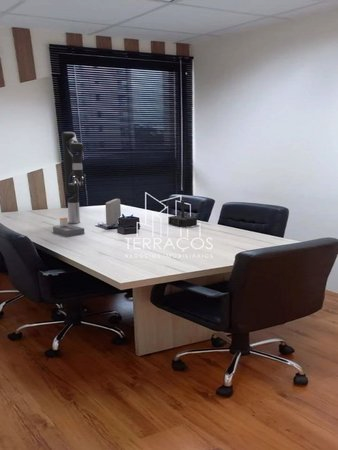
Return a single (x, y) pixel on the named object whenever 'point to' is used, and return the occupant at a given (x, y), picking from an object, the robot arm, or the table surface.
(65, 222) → the lever
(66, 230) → the switch panel
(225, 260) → the table surface
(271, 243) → the table surface
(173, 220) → the dark pedestal with post
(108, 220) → the network device
